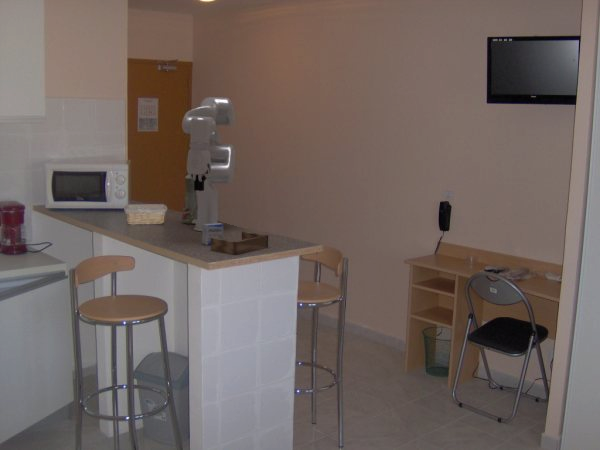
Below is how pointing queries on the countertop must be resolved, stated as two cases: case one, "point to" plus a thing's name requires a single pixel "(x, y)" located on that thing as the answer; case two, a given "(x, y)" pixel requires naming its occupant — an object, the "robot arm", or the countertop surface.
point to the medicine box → (211, 232)
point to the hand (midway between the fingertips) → (199, 190)
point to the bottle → (189, 202)
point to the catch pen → (240, 243)
